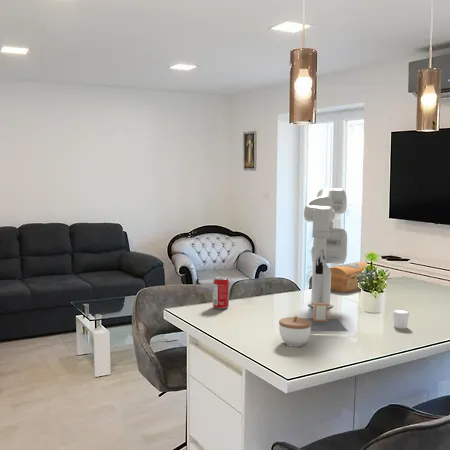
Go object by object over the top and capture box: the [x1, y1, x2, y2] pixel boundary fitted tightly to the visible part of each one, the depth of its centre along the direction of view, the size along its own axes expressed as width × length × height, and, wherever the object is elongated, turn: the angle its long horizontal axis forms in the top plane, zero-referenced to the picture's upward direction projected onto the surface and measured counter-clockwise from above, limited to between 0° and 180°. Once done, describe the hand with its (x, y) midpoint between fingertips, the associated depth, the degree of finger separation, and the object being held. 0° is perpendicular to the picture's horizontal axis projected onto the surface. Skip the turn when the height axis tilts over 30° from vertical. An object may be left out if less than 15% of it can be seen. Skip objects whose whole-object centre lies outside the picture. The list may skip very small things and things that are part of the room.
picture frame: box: [312, 303, 329, 322], centre depth 252 cm, size 2×6×8 cm, turn 91°
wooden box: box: [329, 261, 368, 293], centre depth 333 cm, size 30×16×14 cm, turn 136°
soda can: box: [212, 276, 230, 310], centre depth 274 cm, size 8×8×15 cm
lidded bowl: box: [278, 315, 311, 348], centre depth 219 cm, size 13×13×11 cm
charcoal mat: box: [303, 317, 348, 332], centre depth 247 cm, size 20×18×1 cm
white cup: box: [392, 309, 410, 329], centre depth 248 cm, size 7×7×7 cm
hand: (319, 273), depth 257 cm, fingers closed
